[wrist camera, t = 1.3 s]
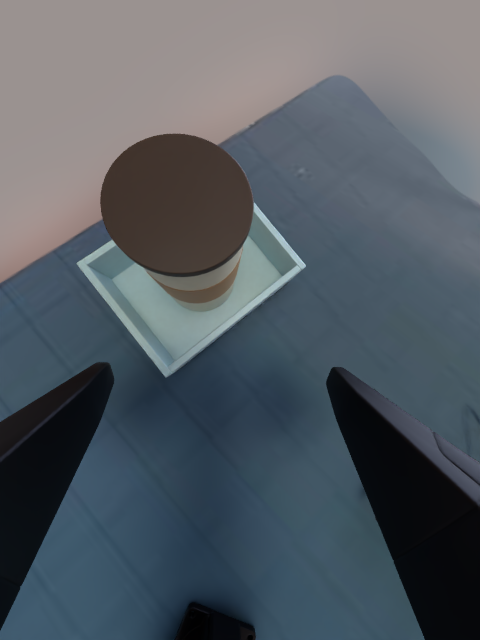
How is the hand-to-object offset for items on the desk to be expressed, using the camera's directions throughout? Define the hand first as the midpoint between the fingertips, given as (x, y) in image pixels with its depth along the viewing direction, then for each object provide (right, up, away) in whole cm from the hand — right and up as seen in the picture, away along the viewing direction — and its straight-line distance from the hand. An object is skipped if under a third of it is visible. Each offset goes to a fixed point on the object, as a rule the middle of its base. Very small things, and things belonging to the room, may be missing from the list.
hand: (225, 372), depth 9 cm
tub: (-3, +6, +14) cm, 16 cm away
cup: (-3, +6, +13) cm, 15 cm away
